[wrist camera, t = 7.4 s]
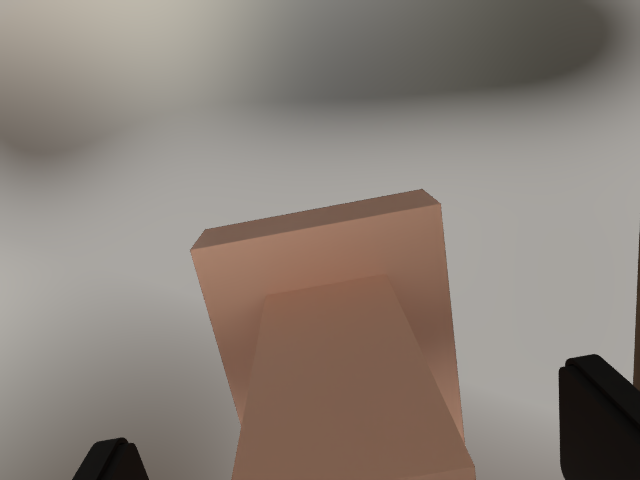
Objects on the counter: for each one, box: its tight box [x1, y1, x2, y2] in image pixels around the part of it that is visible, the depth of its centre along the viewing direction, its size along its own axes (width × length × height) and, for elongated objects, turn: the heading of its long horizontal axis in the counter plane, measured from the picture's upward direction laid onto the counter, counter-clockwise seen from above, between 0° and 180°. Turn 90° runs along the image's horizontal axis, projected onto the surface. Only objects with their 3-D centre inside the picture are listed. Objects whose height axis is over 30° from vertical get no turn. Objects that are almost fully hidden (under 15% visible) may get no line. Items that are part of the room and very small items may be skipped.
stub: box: [190, 189, 476, 480], centre depth 10 cm, size 6×9×8 cm, turn 10°
